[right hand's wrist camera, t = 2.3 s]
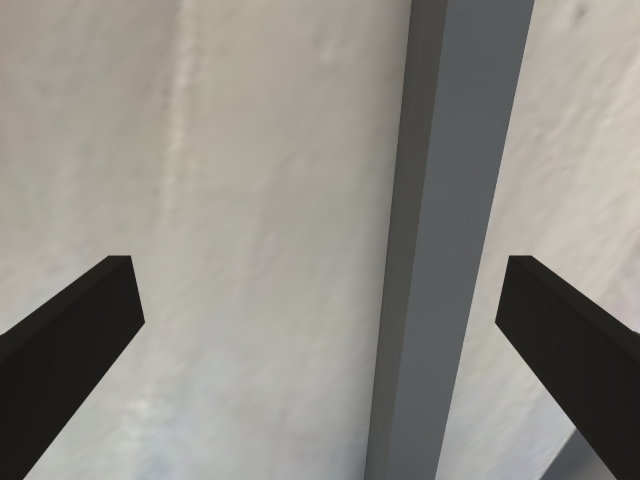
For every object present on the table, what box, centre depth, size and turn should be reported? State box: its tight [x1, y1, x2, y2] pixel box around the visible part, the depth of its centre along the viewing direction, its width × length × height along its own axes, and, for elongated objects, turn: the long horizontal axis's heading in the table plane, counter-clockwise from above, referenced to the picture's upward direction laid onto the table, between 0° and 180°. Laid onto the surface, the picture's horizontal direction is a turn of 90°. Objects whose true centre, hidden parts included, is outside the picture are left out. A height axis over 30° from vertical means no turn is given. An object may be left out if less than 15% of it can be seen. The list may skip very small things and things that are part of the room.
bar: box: [364, 0, 534, 480], centre depth 30 cm, size 61×4×8 cm, turn 179°
